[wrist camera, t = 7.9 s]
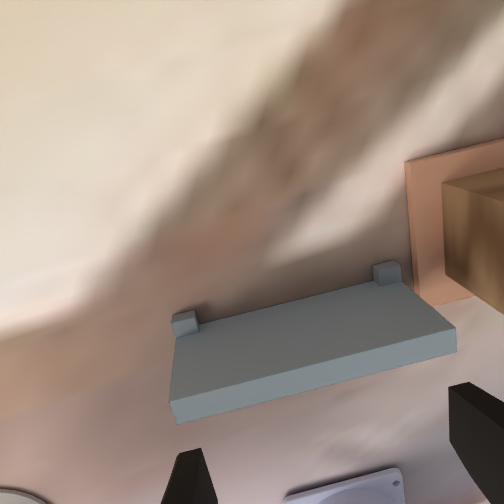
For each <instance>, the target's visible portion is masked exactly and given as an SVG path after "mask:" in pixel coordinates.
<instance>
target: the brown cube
mask: <svg viewBox="0 0 504 504" xmlns="http://www.w3.org/2000/svg"><path fill="white" fill-rule="evenodd" d="M441 190H442V213H443V236H444V258H445V275H446V276H448V277H449V278H451V279H452V280H454V281H455V282H457V283H458V284H460V285H461V286H463V287H464V288H466V289H467V290H468V291H470V292H471V293H473V294H474V295H476V296H477V297H479V298H480V299H482V300H483V301H485V302H486V303H487V304H489V305H490V306H492V307H493V308H495V309H496V310H498V311H499V312H501V313H502V314H504V167H503V168H499V169H495V170H491V171H487V172H483V173H479V174H475V175H471V176H467V177H462V178H458V179H454V180H450V181H446V182H442V183H441Z"/></svg>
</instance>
